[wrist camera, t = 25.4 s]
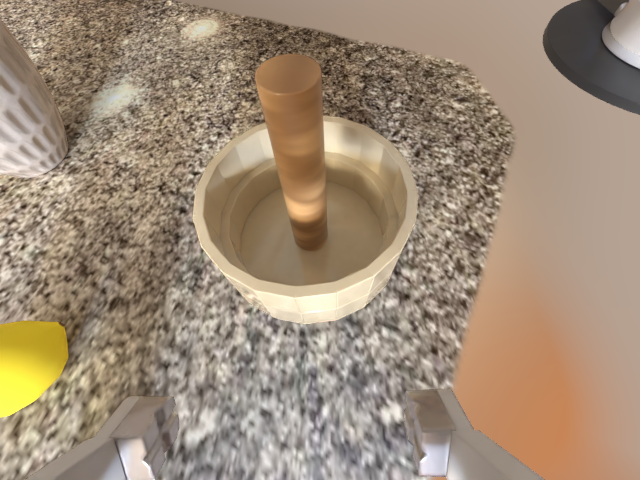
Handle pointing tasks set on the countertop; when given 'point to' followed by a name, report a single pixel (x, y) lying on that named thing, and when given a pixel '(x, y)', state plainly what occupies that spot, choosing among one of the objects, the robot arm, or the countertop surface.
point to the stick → (297, 141)
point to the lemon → (29, 361)
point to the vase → (26, 115)
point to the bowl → (276, 232)
